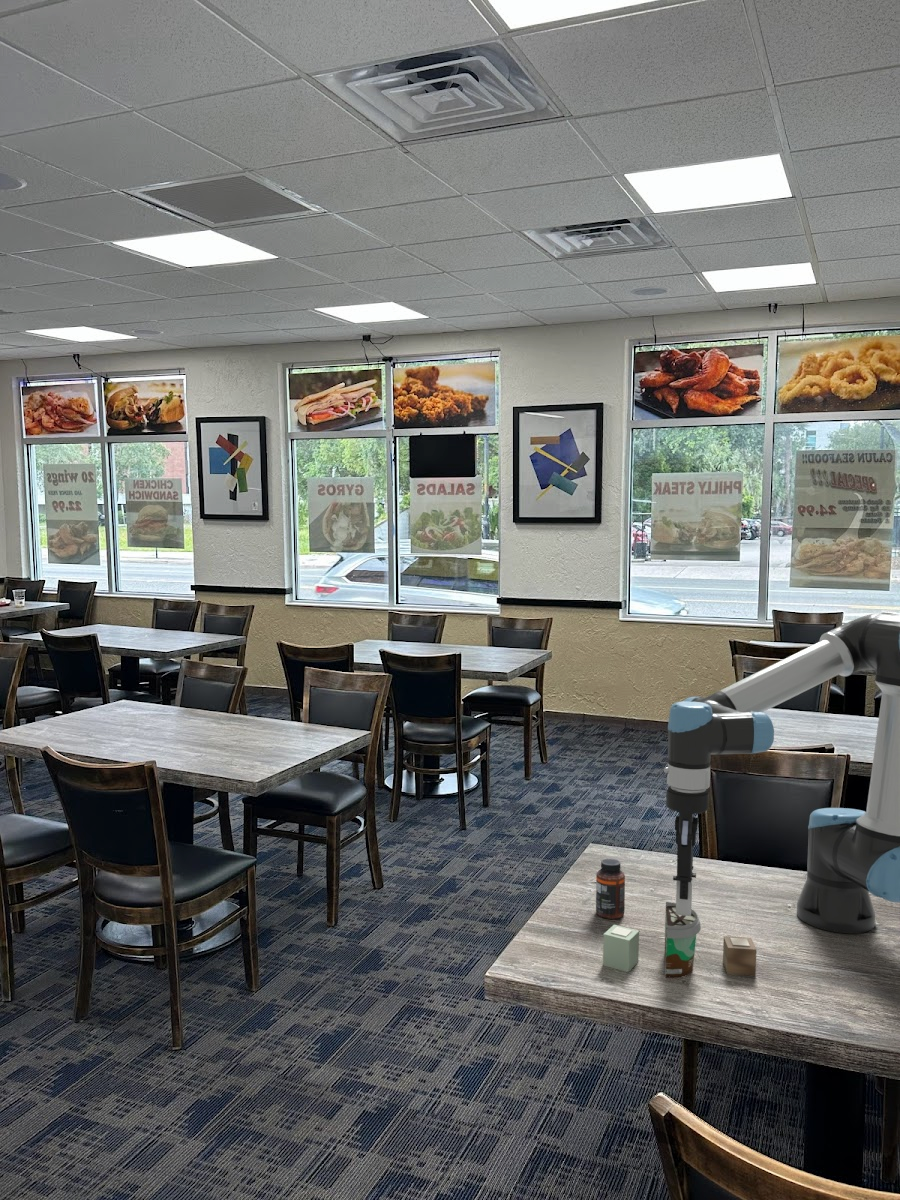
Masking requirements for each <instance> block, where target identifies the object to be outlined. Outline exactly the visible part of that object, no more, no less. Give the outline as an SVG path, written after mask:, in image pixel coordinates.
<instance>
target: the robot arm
mask: <svg viewBox="0 0 900 1200" xmlns="http://www.w3.org/2000/svg"><path fill="white" fill-rule="evenodd" d="M869 670H870V671H876V672H875V677H874V678H875V680H874V683H875V684H876V686H877V687H878V688H879V689H880V690H881V698H880V699H881V700H880V708H879V715H878V721H877V722H878V723H877V729H876V736H875V744H874V751H873V759H872V766H871V767H872V768H871V774H870V781H869V789H868V795H867V803H866V811H865V810H861V809H856V808H850V807H849V808H848V807H847V808H846V807H845V808H844V807H824V808H818V809H815V810H813V811H812V812H811V813H810V815H809V821H808V826H807V829H808V838H807V839H808V841H807V842H808V844H807V845H808V846H807V866H806V867H807V869H806V870H807V871H806V879H805V883H804V884H803V887H802V889H801V892H800V894H799V897H798V899H797V903H796V916H797V917H798V919H800V920H801V921H802V922H804V923H805V924H808V925H810V926H811V927H814V928H817V929H821V930H824V931H828V932H834V933H838V934H839V933H840V934H862V933H866V932H869V931H872V930H873V929H874V928H875V926H876V925H875V924H876V912H875V908H874V906H873V902H872V898H871V895H870V894H872V895H873V896H875V897H877V898H881V899H883V900H885V901H887V902H890V903H895V904H896V903H900V614H896V613H890V612H889V613H888V612H877V613H871V614H866V615H864V616H863V615H862V616H860V617H858V618H855V619H852V620H850V621H848V622H845V623H843V624H841V625H839V626H836V627H835V628H832V629H830V630H829V631H827V632H824V633H822V634H821V636H820V638H819V641H818V642H816V643H813V644H812V645H810V646H808V647H806V648H804V649H801V650H799V651H798V652H796V653H794V654H792V655H791V654H790V655H789V656H787V657H786V658H782V659H781V660H780V661H779V660H778V661H777V662H775V663H773V664H771V665H768V666H767V667H765V668H762V669H761V670H759V671H757V672H754V673H753V674H751V675H748V676H747V677H745V678H743V679H741V680H739V681H737V682H734V683H733V684H731V685H728V686H727V687H725V688H722V689H720V690H718V691H716V692H714V693H712V694H710V695H707V696H706V697H702V696H691V697H690V696H689V697H687V698H685V699H684V700H682V701H676V702H674V703H673V704H672V705H670V709H669V714H668V715H669V716H668V724H667V730H668V731H667V734H668V735H667V736H668V737H667V738H668V739H667V741H668V742H667V767H664V768H663V772H664V773H666V774H667V777H666V784H667V785H668V787H666V795H665V805H666V807H667V809H669V810H670V811H673V812H677V813H679V815H676V816H675V820H674V830H675V843H676V847H677V851H676V853H677V854H676V858H677V859H676V875H673V876H672V881H676V889H675V890H676V894H675V895H676V896H675V903H676V914H677V915H685V916H691V909H692V904H693V903H692V900H693V879H696V878H697V873H695V872H693V870H694V865H693V863H694V847H695V845H696V840H697V831H698V827H699V818H698V817H696V816H695V814H703V813H705V812H707V811H708V810H709V806H710V805H709V803H710V802H709V801H710V791H709V790H708V789H709V788H710V785H711V784H710V783H711V781H710V779H711V755H715V756H718V755H740V754H741V755H742V754H747V755H749V754H750V755H753V754H758V753H764V752H767V751H769V750H770V749H771V747H772V746H773V744H774V740H775V727H774V723H773V722H772V719H771V717H769V715H768V714H766V713H764V712H766V711H768V710H770V709H772V708H775V707H776V706H778V705H780V704H782V703H784V702H786V701H788V700H791V699H792V698H794V697H797V696H799V695H800V694H802V693H804V692H806V691H809V690H810V689H812V688H814V687H816V686H819V685H821V684H822V683H825V682H826V681H827V682H828V681H829V680H830V679H833V678H835V677H837V676H841V677H849V676H851V675H853V674H854V673H857V672H862V671H869Z"/></svg>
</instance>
